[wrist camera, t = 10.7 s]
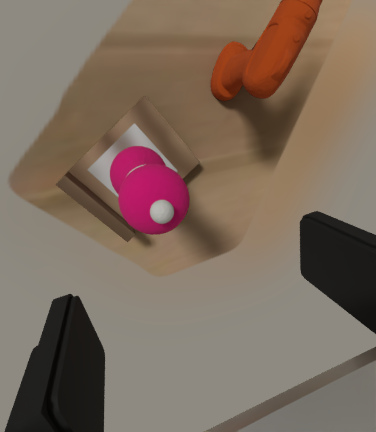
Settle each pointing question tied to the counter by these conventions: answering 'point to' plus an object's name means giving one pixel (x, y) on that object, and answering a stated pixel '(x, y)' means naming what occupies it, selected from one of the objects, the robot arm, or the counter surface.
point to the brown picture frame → (109, 148)
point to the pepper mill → (148, 190)
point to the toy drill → (265, 53)
